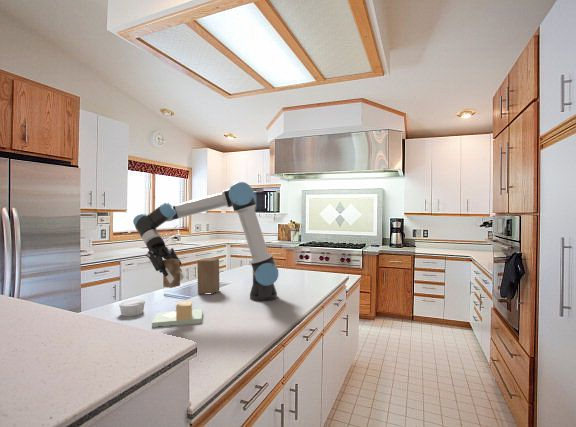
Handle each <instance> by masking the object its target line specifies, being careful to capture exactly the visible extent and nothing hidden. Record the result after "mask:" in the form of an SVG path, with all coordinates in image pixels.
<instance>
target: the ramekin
mask: <svg viewBox="0 0 576 427" xmlns="http://www.w3.org/2000/svg"><path fill="white" fill-rule="evenodd" d="M145 304H146V300H144V299H130V300H124V301H122V302H120V303H119V310H120V314H121V315H122V316H123V317H133V316H139V315H141V314H143V312H144V310H145Z"/></svg>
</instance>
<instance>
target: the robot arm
mask: <svg viewBox="0 0 576 427" xmlns="http://www.w3.org/2000/svg"><path fill="white" fill-rule="evenodd" d="M256 206H257V203H256V199H255V197H254V191H253V188H252V186H251V185H249V183H247V182H244V181H239V182H235V183H233V184H232V185H231V186H230V187H229V188H227V189H224V190H222V192H220V193H216V194H212V195H207V196H204V197H199V198H195V199H191V200H188V201H185V202H181V203H176V204H173V205H172V204H170V203H169V202H166V201H165V202H164V203H162V204H161V205H160V206H158V207H157V208H156V209H153V211H151V212H150V213H148V214H146V213H140V214H137V215H135V217H134V218H133V220H132V222H133V225H134V227H135V230H136V231H137V233H138V234H139V235H140V237H141V239H142V241H143V242H144V244H145V246H146V248H147V250H148V252H147V253H146V255H145V256H146V257H147V259H149V261H150V263H151V264H152V266H153V267H154V270H155V271H156V272H159V273H160V274H161V273H162V275H164V276H165V277H166V278H167V279H168V281H169V283H171V282H172V281H173V280H174V278H173V277H172V275H171V273H170V272H169V270H168V268H165V266H164V262H163V260H166V259H180V258H179V257H178V256H177V254H176V252H175V249H174V247H173V248H172V247H171V248H168V247H167V246H166V243H165V241H164V239H163V238H162V236H161V235H160V233H159V232H158V230H157V228H159V227H160V226H161V225H163V224H164V223H166V222H173V221H174V220H178V219H183V218H185V217H186V218H187V217H189V216H192V215H196V214H201V213H204V212H208V211H213V210H216V209H219V208H220V209H221V208H225V207H226V208H230V207H232V209H233V211H234V212H235V213H236V214H238V217H239V221H240V224H241V227H242V231H243V234H244V236H245V239H246V242H247V246H248V249H249V252H250V254H251V258H252V259H251V261H250V265H251V268H252V286H251V289H250V293H249V299H250V300H252V301H256V302H266V301H267V302H268V301H272V300H276V299H277V298H278V292H277V290H276V286H275V283H276V281H277V280H278V278H279V269H278V268H277V266H276V263H275V259H274V256H273V254H271V253H270V252H269V251H268V247H267V244H266V242H265V238H264V235H263V232H262V229H261V226H260V223H259V220H258V217H257V216H258V215H257V213H256V210H255V208H256ZM181 265H182V262H181V260H180V266H181ZM184 278H185V275H184V274H183V270H182V268H180V282H181V281H183V280H184Z"/></svg>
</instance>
